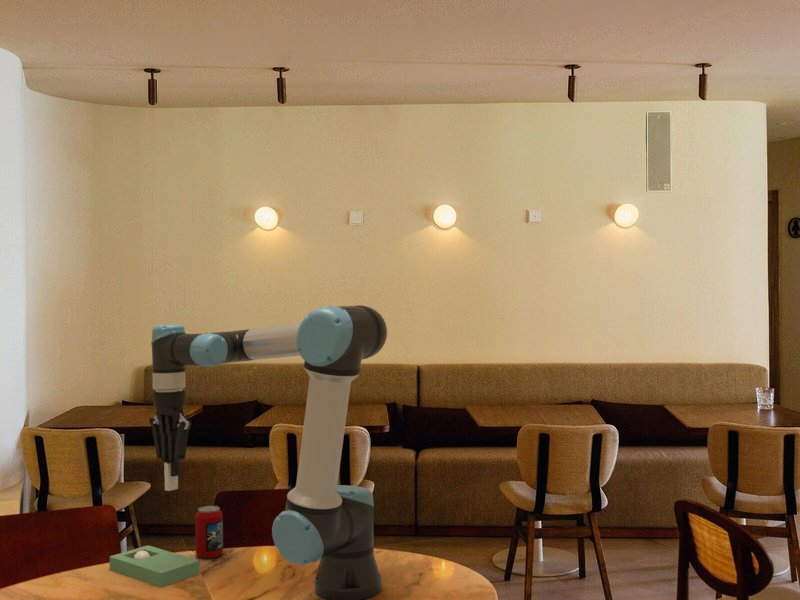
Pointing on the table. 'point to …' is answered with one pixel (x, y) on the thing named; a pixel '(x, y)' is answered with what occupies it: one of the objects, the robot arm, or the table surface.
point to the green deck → (155, 566)
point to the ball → (141, 555)
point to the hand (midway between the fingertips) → (171, 489)
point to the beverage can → (209, 532)
